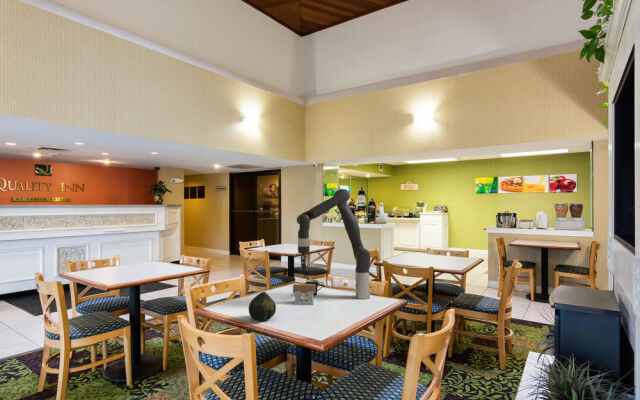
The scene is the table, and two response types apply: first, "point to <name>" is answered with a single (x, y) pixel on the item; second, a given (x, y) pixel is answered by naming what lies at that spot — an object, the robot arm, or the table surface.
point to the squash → (262, 307)
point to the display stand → (303, 300)
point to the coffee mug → (315, 285)
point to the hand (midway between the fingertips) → (304, 270)
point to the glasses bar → (304, 288)
